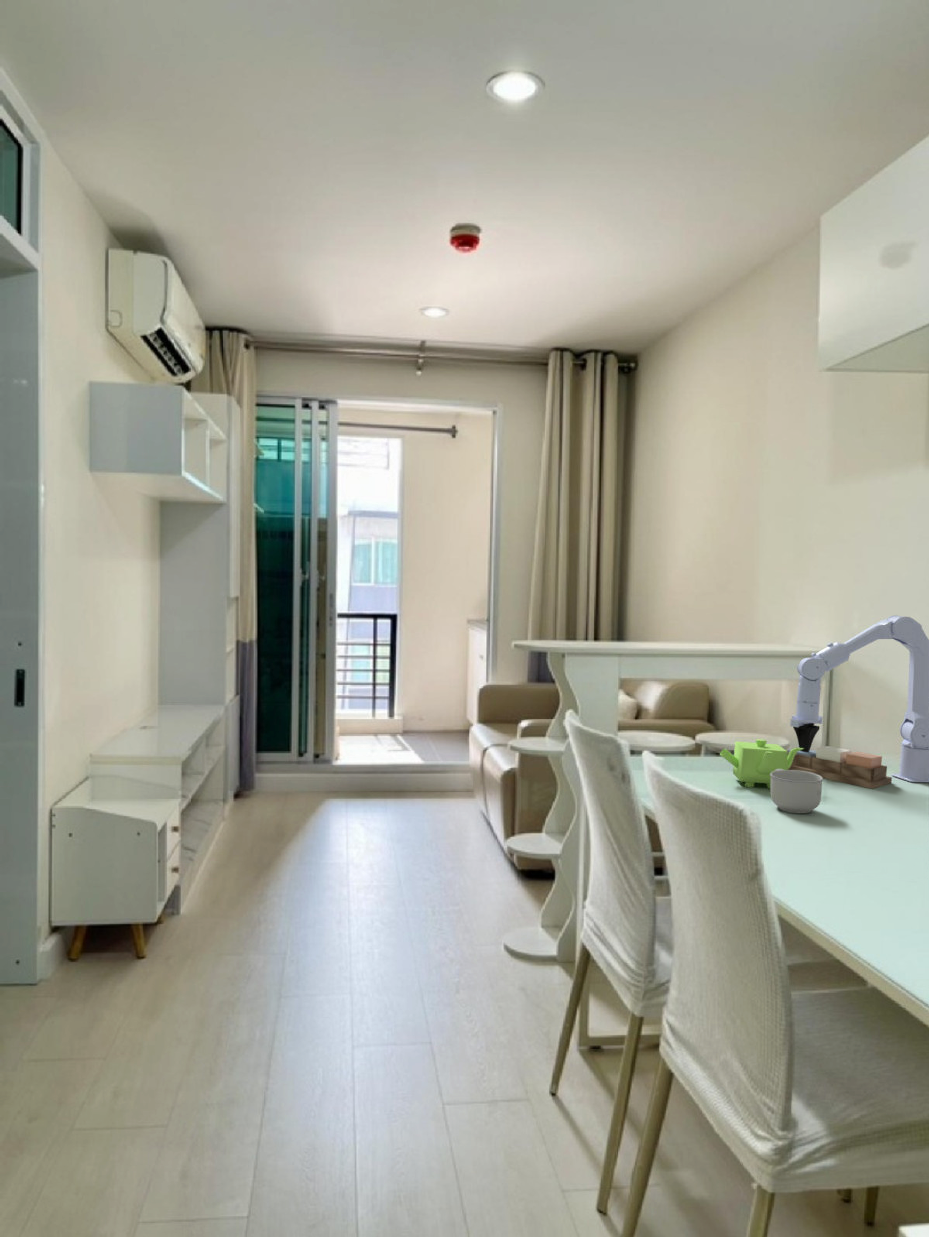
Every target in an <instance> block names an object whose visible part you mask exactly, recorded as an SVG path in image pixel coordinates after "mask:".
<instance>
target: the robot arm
mask: <svg viewBox="0 0 929 1237" xmlns="http://www.w3.org/2000/svg"><path fill="white" fill-rule="evenodd" d="M878 640H893V641H896V642H899V643H900V644H901V645H902V646H903V647H905V648H906V649H907V650H908V651H909V659H908V660H909V663H908V685H907V689H908V690H907V710H906V711H905V713H904V716H903V717H904V718H903V721H902V723H901V725H900V727H899V728H900V729H899V732H900V736H901V737H902V738H903V740H902V741H901V746H900V756H899V757H900V760H899V768H898V770H899V771H898V772H899V773H891V774H890V775H891V776H893V777H894V778H898V779H900V780H901V779H902V780H904V781H908V782H910V783H929V638H928V636H927V635H926V633H925V631H924V630H923V626H922V624H921V623H920V622H918V621H917V620H916V619H914V618H912V617H910V616H900V615H891V616H889V617H887V618H886V619H882V620H880V621H878V622H876V623H874V624H873V625H871V626H869V627H868V628H866V629H865V630H862V631H861V632H859V633H858V634H856V635H854V636H853V637H851V638H849V639H848V640H847V641H845V642H843V643H842V642H838V641H836V642H834V643H833V642H828V643H827V644H826V646H827V647H825V648H822V649H821V650H820V651H817V652H812V653H811V657H805V658H803V659H801V660H800V661H799V663H798V665H797V666H796V669H797V672H798V674H799V677H798V684H797V696H796V697H797V698H796V710H795V715H791V719H790V727H792V728H793V730H794V732H795V734H796V738H797V743H798V748H804V749H802V750H800V751H803V752H809V750H811V747H812V745H813V742H814V738H815V737H816V735H817V733H818V731H819V730H820V729H821V728H820V726H819V725H815V724H820V725H821V724H823V718H824V717H823V716H820V714H819V713H820V704H821V703H820V699H821V690H822V688H821V687H822V686H821V682H822V678H823V677H824V675H825V674H826V673H827V672H830V671H831V670H833V669H835V668H836V667H838V666H840V665H843V664H844V663H845V662H848V661H849V659H850V656H851V653H852V654H853V653H854V652H856V651H858V650H859V649H862V648H864V647H865V646H867V645H870V644H872V643H873V642H876V641H878Z"/></svg>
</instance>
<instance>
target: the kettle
mask: <svg viewBox="0 0 929 1237" xmlns="http://www.w3.org/2000/svg"><path fill="white" fill-rule="evenodd" d="M767 742H768V741H767V740H766V739H761V738H759V739H755V742H747V741H735V742H734V751H733V752H734V754H733V753H731V752H730V751H729V750H728V749H727V748H724V749H723V750H721V752H720V753H719V756H721V757H722V758H723V759H724V760H726V761H727V762H728V763H730V764H731V765H733V767H732V774H733V775H734V776H735V777H736V779H737V780H739V781H740V782H741V783H744V787H747V788H755V784H756V783H757V784H765V785H766V788H767V789H770V790H771V776H770V773H771V772H773V771H775V770H776V769H783V770H788V769H789V768H790V766H791V764H792V762H793V759H794V756H795V755H796V753H797V752H798V751H800V750H802V749H804V748H799V747H794V748H792V750H791V749H790V750H791V751H790V753H789V755H788V752H787V751H788V750H787V749H785V748H783V747H782V746H781V745H779V744H775V743H773V744H772V743H767ZM787 755H788V757H787Z"/></svg>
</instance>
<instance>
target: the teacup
mask: <svg viewBox="0 0 929 1237" xmlns="http://www.w3.org/2000/svg"><path fill="white" fill-rule="evenodd" d="M770 776H771V789H770V798H771V801H772V802H773V804H774V805H775V806H777V808H778V809H780V810H781V811H784V812H787V813H791V814H809V813H811V812H812V811H813V810H816V809H817V808H818V807H819V805H820V803H821V799H822V790H823V779H824V778H822V777H821V776H820V775H818V774H815V773H811V772H806V771H799V770H783V769H776V770H775V771H773V772H771V773H770Z"/></svg>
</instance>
